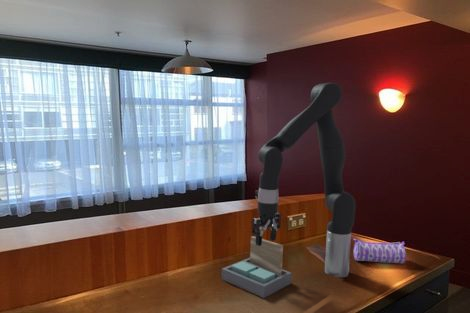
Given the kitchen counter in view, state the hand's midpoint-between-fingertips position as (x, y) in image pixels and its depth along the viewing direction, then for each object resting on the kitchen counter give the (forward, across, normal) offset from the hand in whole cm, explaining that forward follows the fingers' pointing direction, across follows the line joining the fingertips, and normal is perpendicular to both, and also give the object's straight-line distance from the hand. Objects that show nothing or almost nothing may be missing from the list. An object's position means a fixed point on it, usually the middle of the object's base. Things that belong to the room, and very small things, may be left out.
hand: (266, 242), depth 141 cm
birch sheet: (+13, 0, 0) cm, 13 cm away
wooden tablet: (+15, +40, -3) cm, 43 cm away
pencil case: (+14, +51, -23) cm, 58 cm away
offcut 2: (+13, -7, -4) cm, 16 cm away
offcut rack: (+15, -5, 0) cm, 15 cm away
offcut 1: (+13, -7, +4) cm, 16 cm away
